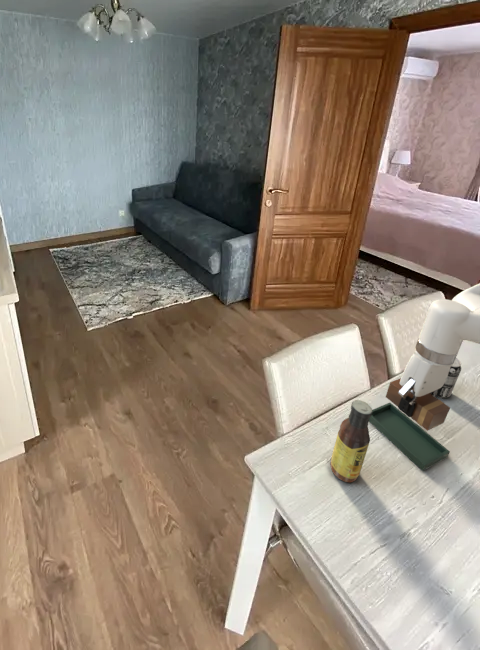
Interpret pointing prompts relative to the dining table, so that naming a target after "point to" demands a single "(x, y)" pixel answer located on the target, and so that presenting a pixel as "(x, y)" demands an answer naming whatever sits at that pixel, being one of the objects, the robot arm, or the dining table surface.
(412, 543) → the dining table surface
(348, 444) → the sauce bottle
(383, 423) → the tray
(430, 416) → the walnut box
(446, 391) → the beverage can
